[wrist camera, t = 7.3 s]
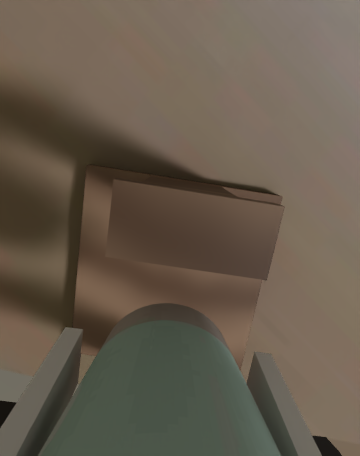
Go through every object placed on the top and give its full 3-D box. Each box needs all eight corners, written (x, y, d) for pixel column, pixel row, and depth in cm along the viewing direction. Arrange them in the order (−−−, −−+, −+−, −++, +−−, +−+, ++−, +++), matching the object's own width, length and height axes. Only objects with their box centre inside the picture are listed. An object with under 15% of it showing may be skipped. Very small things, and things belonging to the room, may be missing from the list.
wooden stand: (91, 158, 21) (-7, 159, 10) (279, 189, 22) (392, 224, 11) (73, 348, 25) (-13, 513, 13) (236, 369, 26) (286, 542, 14)
